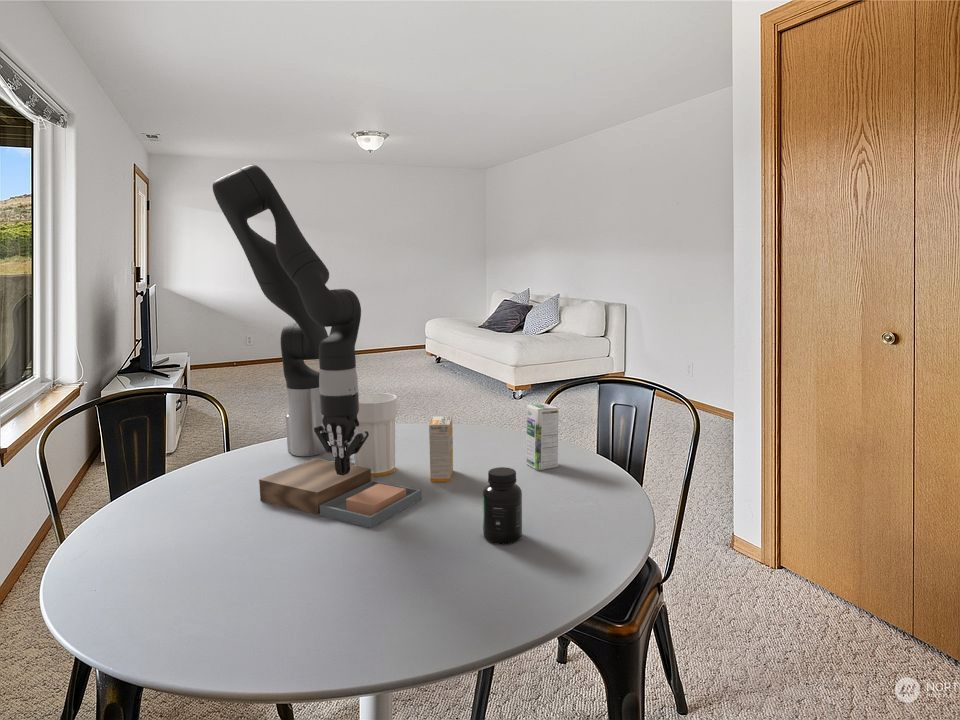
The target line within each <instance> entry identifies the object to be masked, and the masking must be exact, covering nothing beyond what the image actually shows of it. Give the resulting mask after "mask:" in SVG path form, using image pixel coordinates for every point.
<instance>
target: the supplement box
mask: <svg viewBox="0 0 960 720" xmlns="http://www.w3.org/2000/svg"><path fill="white" fill-rule="evenodd" d="M428 434H429V467H430V468H429V469H430V470H429V471H430V472H429V473H430V475H429V476H430V482H431V483H447V482H448V483H449V482H451V481H452V476H453V475H452V474H453V471H454V450H453V449H454V440H453V439H454V436H453V416H450V415H449V416H447V415H443V416H442V415H441V416H440V415H439V416H438V415H437V416H436V415H435V416H432V418H431V420H430V422H429V424H428Z"/></svg>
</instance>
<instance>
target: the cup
mask: <svg viewBox="0 0 960 720" xmlns="http://www.w3.org/2000/svg"><path fill="white" fill-rule="evenodd" d="M358 397H359V412H358V414H357V419H358V421H359V427H360V428H361V429H362V431H363V432H365V431H367V432H368V433H369V436H368V438H367V439H366V441H365V442H364V444H363V445H362V447H361V448H360V450H359V451H358V453H356V454H353V456H354V466H359V467H364V468H370V469H371V478H377V477H378V478H379V477H384V476H387V475H391V474H392V473H393V472H394V471H395V470H396V418H397V416H398V396H397V395H395V394H392V393H387V392H369V393H368V392H367V393H360V394H359V393H358ZM353 440H354V439H353Z"/></svg>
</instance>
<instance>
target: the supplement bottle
mask: <svg viewBox="0 0 960 720" xmlns="http://www.w3.org/2000/svg"><path fill="white" fill-rule="evenodd" d="M487 474H488V475H487V476H488V477H487V478H488V479H487V483H488V484H487V485H486V486H484V488H483V490H482V527H483V528H482V529H483V530H482V531H483V533H482V534H483V537H484V540H486V541H487V542H488V543H489V542H490V543H492V544H495V545H511V544H514V543H517V542H518V541H520V540H521V538H522V536H523V491H522V489H521V487H520V486H519V485H518V484H517V472H516V470H515V469H514V468H511V467H502V466H501V467H500V466H499V467H493V468H492V469H491V468H490V469H489V470H488V473H487Z"/></svg>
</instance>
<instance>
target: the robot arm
mask: <svg viewBox="0 0 960 720" xmlns="http://www.w3.org/2000/svg"><path fill="white" fill-rule="evenodd" d="M212 192H213V195H214V197H215V200H216V202H217V204H218V206H219V208H220V210H221V212H222V214H223V215H224V217H225V219H226V221H227V223H228V224H229V226H230V228H231V229H232V232H233V233H234V235H235V236H236V239H237V240H238V242H239V244H240V246H241V248H242V250H243V252H244V255H245V256H246V259H247V261H248V264H249V265H250V267H251V271H252V272H253V275H254V277H255V279H256V281H257V284H258V286H259V287H260V290H261V291H262V294H264V297H265V298H267V300H269V301H270V302H271V303H272V304H273V305H275V306H276V307H277V308H278V309H279V310H280V311H282V312H283V313H285V314H286V315H287V316H289V317H291V319H292V320H294V322H291V323H287V324H285V325H284V326H283V327H282V330H281V333H280V351H281V360H282V369H283V377H284V380H285V383H286V384H285V385H286V395H287V397H286V399H287V415H286V416H285V429H286V445H287V452H288V453H290V454H291V455H293V456H297V457H310V456H318V455H321V454H324V453H325V452H326V453H328V454H332V456H333V457H334V462H335V470H336V473H337V474H338V475H343V476H344V475H346V474H348V473H349V471H350V465H351V456H354V454H356V453H358V451H359V450H360V448H361V447H362V445H363V444H364V442H365V441H366V439H367V438H368V436H369V433H368V432H367V431H365V432H363V431H362V429H361V428H360V427H359V421H358V419H357V414H358V412H359V397H358V395H359V380H358V379H359V378H358V374H357V364H356V363H357V361H356V344H357V339H358V335H359V329H360V325H361V319H362V307H361V303H360V302H361V301H360V299H359V297H358V296H357V295H356V293H355V292H354V291H353V290H352V289H351V290H350V289H348V288H337V289H335V288H334V289H329V288H328V287H327V285H326V284H327V283H328V281H329V279H330V271H329V269H328V268H327V266H326V265H325V263H324V262H323V260H321V258H320V257H319V256H318V254H317V253H316V251H315V250H314V249H313V247H311V245H310V244H309V242H308V240H307V239H306V238H305V236H304V235H303V233H302V231H301V230H300V228H299V226H298V224H297V222H296V220H295V219H294V217H293V215H292V213H291V212H290V210H289V208H288V207H287V205H286V203H285V202H284V200H283V198H282V196H281V195H280V193H279V192H278V189H277V188H276V187H275V185H274V184H273V181H272V180H271V179H270V178H269V176H268V175H267V173H266V172H265V171H264V170H263V169H262V168H261V167H260V166H258V165H256V164H249V165H246V166H244V167H242V168H239V169H237V170H235V171H233V172H231V173H228V174H226V175H224V176H222V177H220V178H218V179H215V181H214V182H213V183H212ZM267 210H269V211H270V213H271V214H272V217H273V221H274V227H275V243H273V242H272V241H270V240H268V239H267V238H265V237H263V236H262V235H260V234H259V233H257V232H256V231H255V230H254V229H252V228H251V227H250V225H249V223H248V220H249V219H250V218H252V217H255V216H257V215H258V214H262V213H263V212H264V211H267ZM329 327H330V332H329V335H328V332H327V329H326V328H329ZM304 360H305V361H307V360H311V361H313V360H315V361H316V360H318V362H319V371H317V370H314V369H313V368H311V367H309V366H308V365H307V364H306V363H305V361H304ZM353 439H354V440H353Z"/></svg>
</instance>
